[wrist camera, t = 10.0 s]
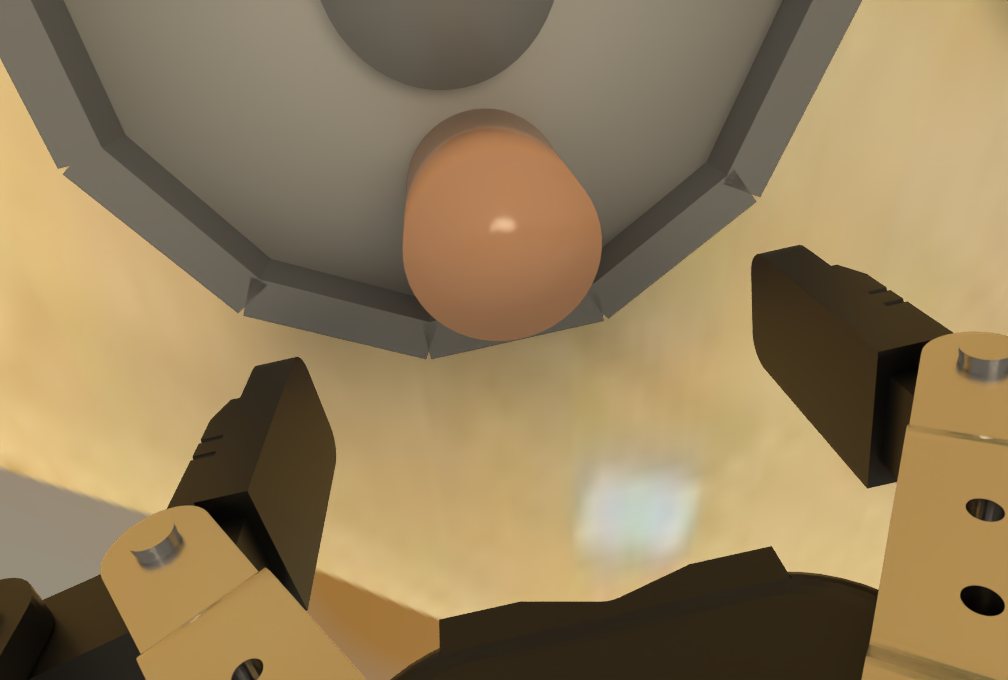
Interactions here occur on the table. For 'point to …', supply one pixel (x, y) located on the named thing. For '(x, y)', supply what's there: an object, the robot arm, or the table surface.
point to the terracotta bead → (496, 228)
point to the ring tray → (407, 130)
